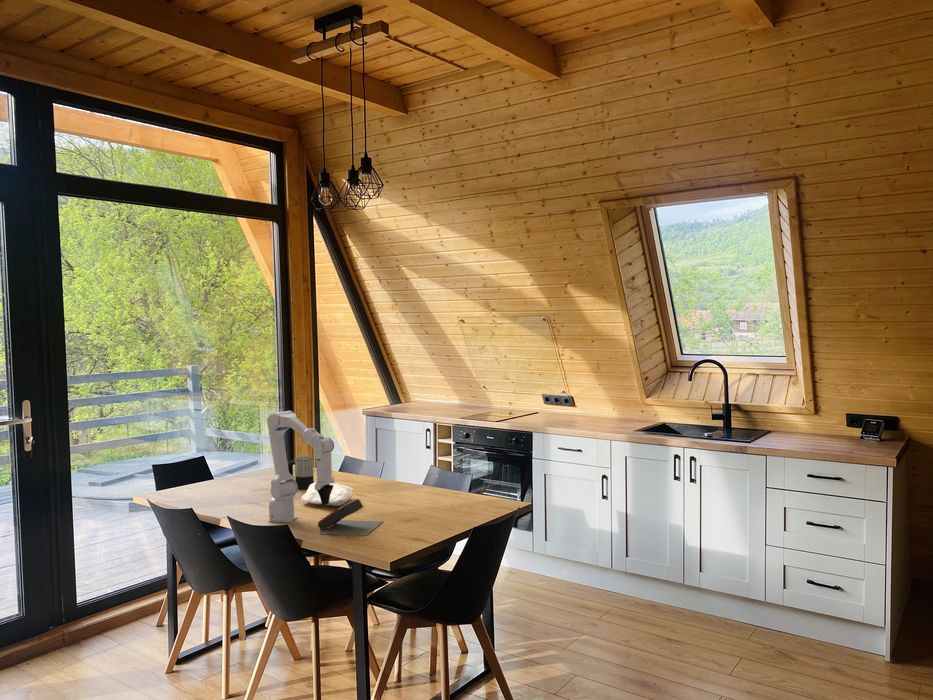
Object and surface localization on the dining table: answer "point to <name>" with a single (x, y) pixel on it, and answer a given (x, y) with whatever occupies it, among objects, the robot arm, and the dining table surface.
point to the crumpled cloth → (337, 496)
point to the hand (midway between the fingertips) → (325, 504)
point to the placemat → (352, 527)
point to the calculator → (339, 514)
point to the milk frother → (302, 471)
